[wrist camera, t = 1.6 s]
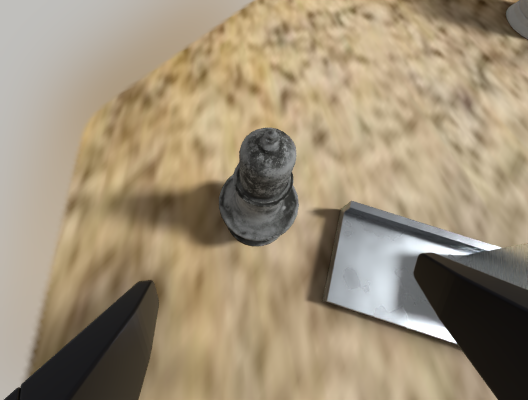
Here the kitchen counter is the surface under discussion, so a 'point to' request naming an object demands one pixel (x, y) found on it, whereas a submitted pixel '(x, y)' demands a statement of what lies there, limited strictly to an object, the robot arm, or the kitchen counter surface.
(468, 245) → the rail
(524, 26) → the glass holder
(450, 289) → the robot arm
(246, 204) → the dark grey tall piece
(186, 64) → the kitchen counter surface
